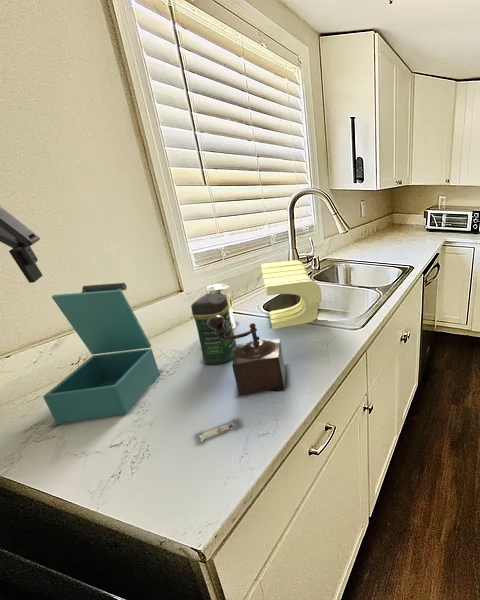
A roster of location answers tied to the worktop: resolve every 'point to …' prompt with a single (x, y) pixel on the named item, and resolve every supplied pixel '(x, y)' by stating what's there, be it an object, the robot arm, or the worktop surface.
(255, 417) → the worktop surface
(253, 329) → the manual coffee grinder
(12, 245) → the robot arm
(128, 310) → the lunchbox lid
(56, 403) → the lunchbox
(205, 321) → the coffee jar
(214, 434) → the granola bar
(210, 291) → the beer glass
